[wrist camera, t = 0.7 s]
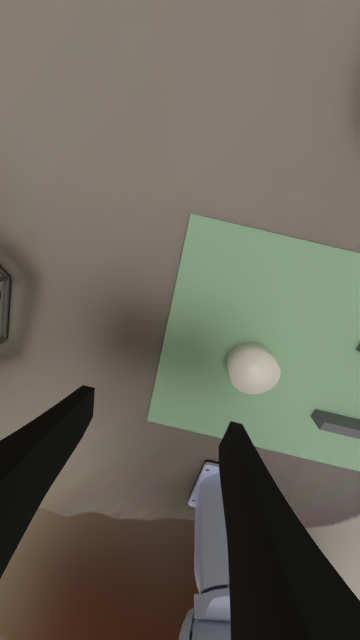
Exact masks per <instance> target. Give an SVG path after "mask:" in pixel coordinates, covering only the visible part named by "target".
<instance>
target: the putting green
mask: <svg viewBox="0 0 360 640" xmlns="http://www.w3.org/2000/svg"><path fill="white" fill-rule="evenodd" d="M245 342H256V343H260V344H262V345H264V346H265V347H266V348H267V349H268V350H269V351H270V353H271V354H272V356H273V357H274V359H275V360H276V362H277V363H278V365H279V367H280V370H281V375H280V379H279V381H278V383H277V384H276V385H275V386H274V387H273V388H272V389H270V390H269V391H267V392H264V393H261V394H246V393H243V392H241V391H239V390H237V389H236V388H235V387H234V386H233V384H232V383H231V380H230V376H229V372H228V368H227V362H226V361H227V356H228V354H229V352H230V351H231V350H232V349H233V348H234V347H236V346H237V345H239V344H241V343H245ZM359 343H360V253H356V252H352V251H347V250H343V249H339V248H335V247H330V246H326V245H322V244H318V243H313V242H309V241H305V240H301V239H296V238H292V237H288V236H284V235H280V234H275V233H271V232H267V231H263V230H258V229H254V228H250V227H246V226H241V225H237V224H233V223H229V222H225V221H220V220H216V219H212V218H208V217H203V216H199V215H195V214H191V213H190V218H189V223H188V228H187V232H186V237H185V242H184V247H183V252H182V256H181V261H180V266H179V271H178V275H177V280H176V285H175V290H174V294H173V299H172V304H171V309H170V313H169V318H168V323H167V328H166V333H165V337H164V342H163V347H162V352H161V356H160V361H159V366H158V371H157V375H156V380H155V385H154V390H153V394H152V399H151V404H150V409H149V414H148V418H147V421H150V422H154V423H159V424H163V425H167V426H171V427H175V428H180V429H184V430H188V431H192V432H196V433H201V434H205V435H209V436H213V437H217V438H222V439H223V436H224V434H225V432H226V430H227V428H228V426H229V423H230V421H232V422H237V423H241V424H243V426H244V428H245V430H246V432H247V434H248V435H249V437H250V439H251V441H252V443H253V445H254V446H255V447H259V448H264V449H268V450H272V451H276V452H280V453H285V454H289V455H293V456H297V457H301V458H306V459H310V460H314V461H318V462H322V463H327V464H331V465H335V466H339V467H343V468H348V469H352V470H356V471H360V439H357V438H352V437H348V436H344V435H340V434H336V433H331V432H327V431H323V430H319V429H318V427H317V425H316V424H315V422H314V421H313V419H312V418H311V415H312V413H313V412H314V410H315V409H318V410H322V411H326V412H330V413H334V414H339V415H343V416H347V417H351V418H355V419H360V352H359V351H357V350H356V348H357V346H358V345H359Z"/></svg>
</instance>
